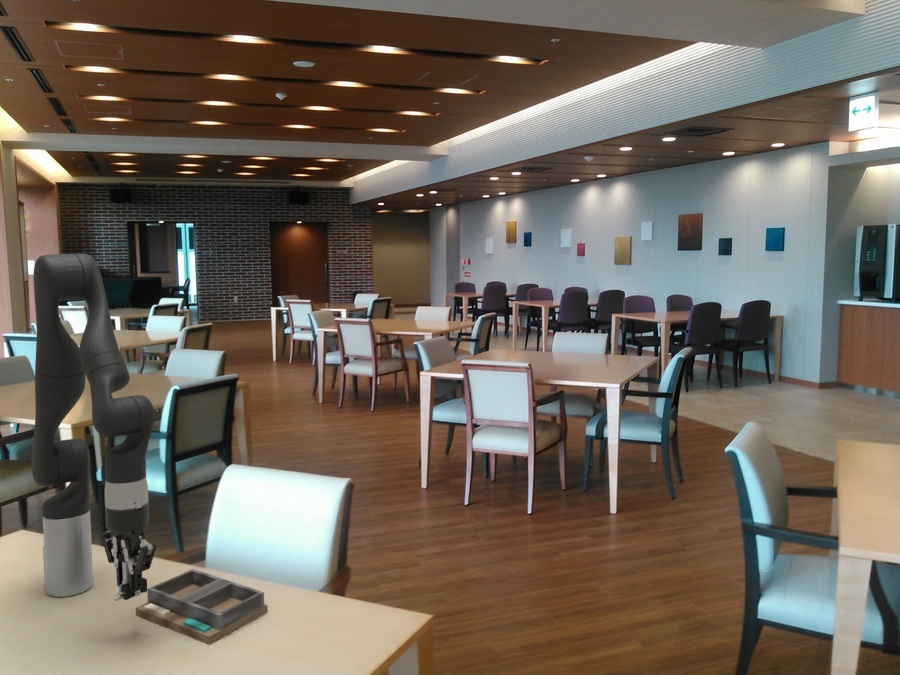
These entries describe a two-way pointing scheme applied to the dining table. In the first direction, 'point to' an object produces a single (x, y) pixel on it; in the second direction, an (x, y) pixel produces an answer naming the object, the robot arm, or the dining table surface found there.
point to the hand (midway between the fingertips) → (129, 587)
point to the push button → (124, 587)
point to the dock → (202, 605)
